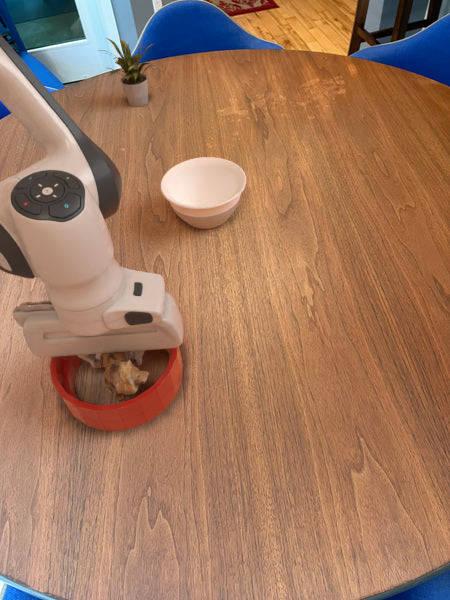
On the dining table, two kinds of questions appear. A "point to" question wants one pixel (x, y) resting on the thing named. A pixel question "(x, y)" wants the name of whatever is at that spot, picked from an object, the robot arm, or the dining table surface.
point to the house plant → (132, 75)
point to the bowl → (204, 190)
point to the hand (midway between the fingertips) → (118, 362)
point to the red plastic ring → (124, 412)
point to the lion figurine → (122, 375)
